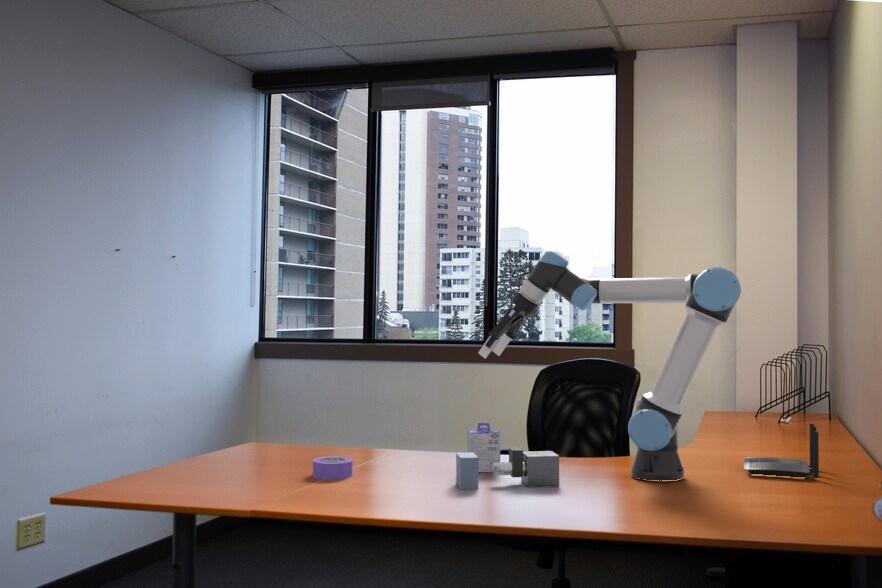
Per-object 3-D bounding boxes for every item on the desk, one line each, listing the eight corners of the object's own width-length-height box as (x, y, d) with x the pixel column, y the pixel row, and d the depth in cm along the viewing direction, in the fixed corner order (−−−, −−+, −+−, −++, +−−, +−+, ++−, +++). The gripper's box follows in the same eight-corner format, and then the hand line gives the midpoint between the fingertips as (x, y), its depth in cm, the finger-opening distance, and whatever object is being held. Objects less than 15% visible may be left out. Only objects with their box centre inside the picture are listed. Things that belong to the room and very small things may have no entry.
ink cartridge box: (499, 469, 255) (499, 422, 255) (500, 472, 249) (500, 425, 250) (467, 469, 255) (467, 422, 255) (468, 472, 249) (468, 425, 250)
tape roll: (360, 476, 246) (360, 459, 246) (330, 482, 237) (330, 464, 237) (335, 470, 254) (335, 454, 254) (304, 476, 245) (304, 459, 245)
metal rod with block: (551, 472, 237) (551, 446, 237) (555, 476, 232) (555, 449, 232) (491, 474, 235) (491, 448, 235) (495, 477, 230) (495, 451, 230)
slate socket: (473, 482, 236) (473, 452, 236) (478, 488, 228) (478, 457, 228) (456, 483, 235) (456, 452, 235) (460, 489, 227) (460, 457, 227)
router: (744, 465, 263) (744, 418, 263) (814, 469, 256) (813, 421, 256) (743, 477, 243) (743, 427, 244) (819, 483, 236) (818, 431, 236)
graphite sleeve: (551, 480, 239) (551, 450, 239) (559, 486, 231) (559, 455, 231) (521, 481, 237) (521, 451, 238) (527, 487, 229) (527, 456, 230)
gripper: (530, 290, 257) (491, 345, 261) (507, 289, 233) (465, 348, 238) (549, 304, 254) (510, 359, 259) (527, 304, 231) (485, 364, 235)
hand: (488, 354), depth 248 cm, fingers open, 13 cm apart
